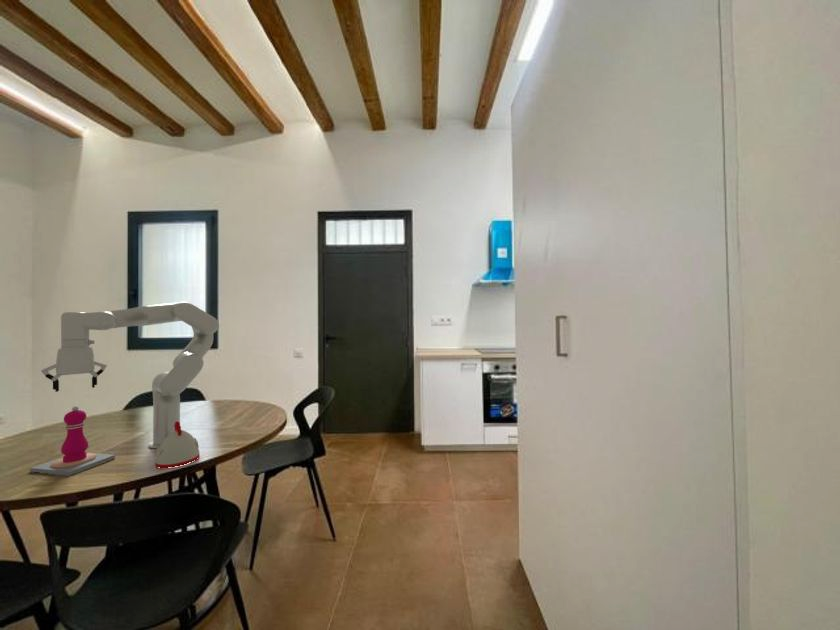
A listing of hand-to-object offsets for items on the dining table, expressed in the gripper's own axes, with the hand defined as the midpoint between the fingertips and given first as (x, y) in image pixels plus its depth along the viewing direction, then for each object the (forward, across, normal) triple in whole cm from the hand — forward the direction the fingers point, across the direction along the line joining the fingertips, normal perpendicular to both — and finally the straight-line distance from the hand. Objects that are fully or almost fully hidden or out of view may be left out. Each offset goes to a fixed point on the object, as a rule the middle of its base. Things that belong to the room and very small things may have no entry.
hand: (75, 389), depth 128 cm
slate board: (+29, 0, 0) cm, 29 cm away
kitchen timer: (+29, -28, +24) cm, 47 cm away
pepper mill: (+27, 0, 0) cm, 27 cm away
